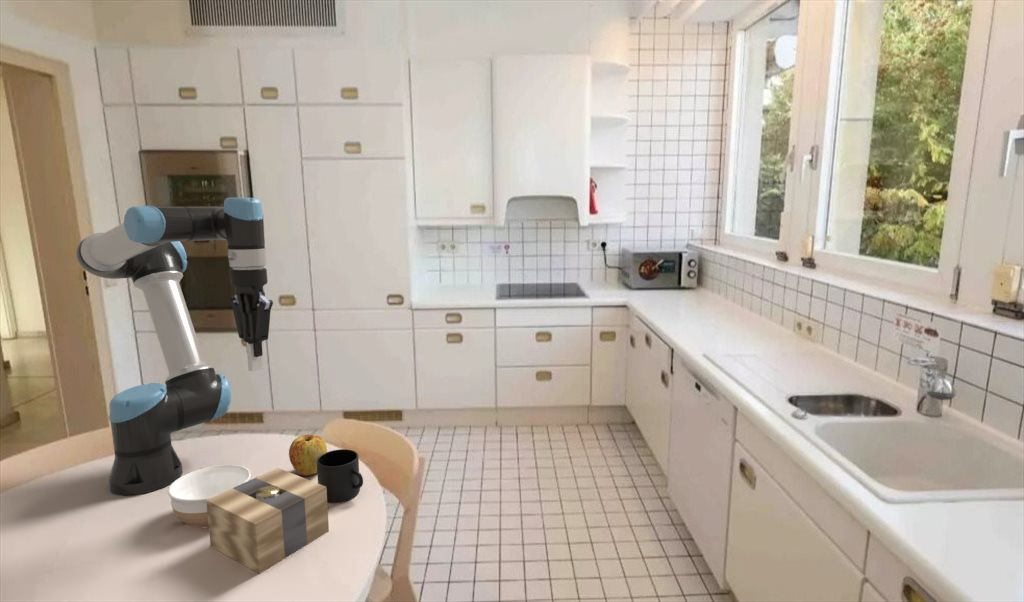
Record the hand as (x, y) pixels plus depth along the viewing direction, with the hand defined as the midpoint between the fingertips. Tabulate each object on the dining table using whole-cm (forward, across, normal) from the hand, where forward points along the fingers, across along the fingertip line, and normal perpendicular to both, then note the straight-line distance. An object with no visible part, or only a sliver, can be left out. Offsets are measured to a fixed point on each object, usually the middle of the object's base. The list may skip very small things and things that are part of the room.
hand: (255, 369), depth 124 cm
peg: (+29, +18, -11) cm, 36 cm away
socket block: (+30, +18, -11) cm, 37 cm away
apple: (+31, +1, +12) cm, 33 cm away
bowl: (+31, -1, -12) cm, 33 cm away
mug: (+31, +17, +9) cm, 36 cm away
